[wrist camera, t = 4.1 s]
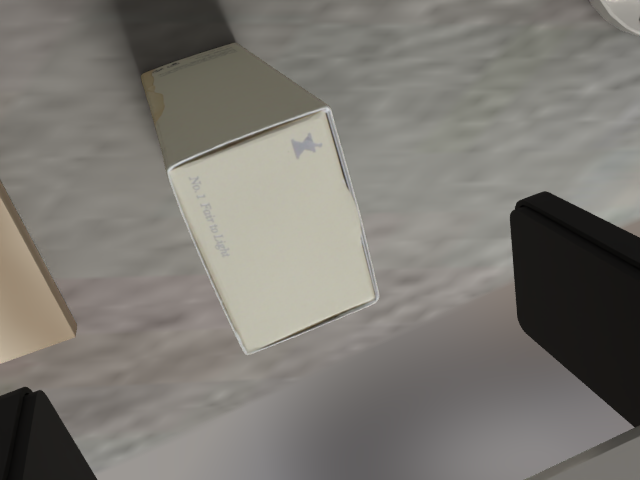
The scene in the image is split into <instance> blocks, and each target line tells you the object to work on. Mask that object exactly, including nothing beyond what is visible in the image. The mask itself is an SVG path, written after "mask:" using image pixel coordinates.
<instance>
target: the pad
mask: <svg viewBox="0 0 640 480" xmlns="http://www.w3.org/2000/svg"><path fill="white" fill-rule="evenodd" d="M76 330H77V324H76V322H75V320H74V318H73V317H72V315H71V313H70V311H69V309H68V307H67V305H66V303H65V301H64V300H63V298H62V296H61V294H60V292H59V290H58V288H57V286H56V284H55V283H54V281H53V279H52V277H51V275H50V273H49V271H48V269H47V268H46V266H45V264H44V262H43V260H42V258H41V256H40V254H39V252H38V251H37V249H36V247H35V245H34V243H33V241H32V239H31V237H30V235H29V234H28V232H27V230H26V228H25V226H24V224H23V222H22V220H21V218H20V217H19V215H18V213H17V211H16V209H15V207H14V205H13V203H12V201H11V200H10V198H9V196H8V194H7V192H6V190H5V188H4V186H3V184H2V183H1V181H0V364H1V363H4V362H6V361H9V360H12V359H15V358H18V357H21V356H23V355H26V354H29V353H32V352H35V351H37V350H40V349H43V348H46V347H49V346H52V345H54V344H57V343H60V342H63V341H66V340H69V339H71V338H74V337H76Z"/></svg>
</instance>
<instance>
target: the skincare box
mask: <svg viewBox="0 0 640 480" xmlns="http://www.w3.org/2000/svg"><path fill="white" fill-rule="evenodd" d="M141 80H142V84H143V87H144V90H145V94H146V97H147V100H148V103H149V106H150V109H151V113H152V117H153V120H154V124H155V128H156V132H157V135H158V139H159V143H160V147H161V151H162V154H163V159H164V164H165V169H166V174H167V177H168V179H169V182H170V185H171V187H172V190H173V193H174V195H175V198H176V201H177V204H178V206H179V209H180V212H181V214H182V216H183V219H184V221H185V224H186V226H187V229H188V231H189V234H190V236H191V238H192V241H193V243H194V246H195V248H196V250H197V253H198V255H199V257H200V260H201V262H202V264H203V266H204V269H205V271H206V273H207V276H208V278H209V280H210V282H211V285H212V287H213V289H214V291H215V294H216V296H217V298H218V300H219V302H220V304H221V307H222V309H223V311H224V313H225V315H226V317H227V319H228V322H229V324H230V326H231V328H232V330H233V332H234V334H235V336H236V338H237V340H238V342H239V344H240V346H241V349H242V350H243V352H244V353H245V354H246V355H249V354H253V353H256V352H258V351H261V350H264V349H266V348H268V347H271V346H273V345H275V344H278V343H280V342H283V341H286V340H288V339H291V338H293V337H296V336H298V335H301V334H303V333H306V332H308V331H311V330H313V329H315V328H318V327H320V326H323V325H325V324H328V323H330V322H333V321H335V320H337V319H340V318H342V317H344V316H347V315H349V314H351V313H354V312H357V311H359V310H361V309H364V308H366V307H368V306H371V305H373V304H375V303H376V302H377V301H378V299H379V291H378V287H377V282H376V278H375V273H374V269H373V264H372V260H371V257H370V252H369V248H368V243H367V239H366V235H365V231H364V227H363V222H362V218H361V214H360V211H359V207H358V204H357V200H356V196H355V193H354V189H353V185H352V181H351V178H350V174H349V171H348V167H347V164H346V160H345V157H344V153H343V149H342V146H341V143H340V139H339V135H338V132H337V129H336V125H335V122H334V118H333V114H332V110H331V108H330V106H329V105H327V104H326V103H324V102H323V101H321V100H320V99H318V98H317V97H315V96H314V95H312V94H311V93H309V92H308V91H306V90H305V89H303V88H302V87H300V86H299V85H298V84H296V83H295V82H293V81H292V80H291V79H289V78H287V77H286V76H285V75H283V74H281V73H280V72H279V71H277V70H275V69H274V68H273V67H271V66H270V65H268V64H267V63H266V62H264V61H262V60H261V59H259V58H258V57H256V56H255V55H253V54H252V53H251V52H249V51H248V50H246V49H245V48H243V47H242V46H240V45H239V44H238V43H231V44H228V45H225V46H222V47H218V48H215V49H212V50H209V51H205V52H202V53H199V54H196V55H193V56H190V57H187V58H184V59H181V60H178V61H175V62H172V63H169V64H167V65H164V66H161V67H159V68H156V69H153V70H151V71H148V72H145V73H143V74H142V75H141Z"/></svg>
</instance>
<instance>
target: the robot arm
mask: <svg viewBox="0 0 640 480" xmlns="http://www.w3.org/2000/svg"><path fill="white" fill-rule="evenodd" d="M589 1H590V3H591V5H592V6H593V7H594V9H595V10H596V11H597V12H598V13H599V14H600V15H601V16H602V17H603V18H604V20H605V21H607V22H608V23H610V24H612V25H613V26H615V27H616V28H618V29H619V30H621V31H624V32H627V33H630V34H633V35H637V36H640V0H589ZM510 226H511V239H512V252H513V266H514V279H515V292H516V305H517V317H518V321H519V323H520V326H521V327H522V329H523V330H524V332H526V334H527V335H528V336H530V337H531V338H532V339H533V340H534V341H535V342H537V343H538V344H539V345H540V346H541V347H542V348H544V349H545V350H546V351H547V352H548V353H549V354H551V355H552V356H553V357H554V358H555V359H556V360H557V361H559V362H560V363H561V364H562V365H563V366H564V367H566V368H567V369H568V370H569V371H570V372H571V373H572V374H574V375H575V376H576V377H577V378H578V379H580V380H581V381H582V382H583V383H584V384H585V385H586V386H588V387H589V388H590V389H591V390H592V391H593V392H595V393H596V394H597V395H598V396H599V397H600V398H602V399H603V400H604V401H605V402H606V403H607V404H608V405H610V406H611V407H612V408H613V409H614V410H615V411H616V412H618V413H619V414H620V415H621V416H622V417H623V418H625V419H626V420H627V421H628V422H629V423H630V424H632V425H633V426H634V427H635V428H633V429H631V430H629V431H627V432H625V433H623V434H620V435H618V436H616V437H614V438H612V439H610V440H608V441H606V442H603V443H601V444H599V445H597V446H595V447H593V448H591V449H589V450H586V451H584V452H582V453H580V454H578V455H576V456H574V457H572V458H569V459H567V460H565V461H563V462H561V463H559V464H557V465H555V466H552V467H550V468H548V469H546V470H544V471H542V472H540V473H538V474H535V475H533V476H531V477H529V478H527V479H525V480H640V238H639V237H637V236H635V235H633V234H631V233H629V232H627V231H625V230H623V229H621V228H619V227H617V226H615V225H613V224H611V223H609V222H607V221H605V220H603V219H601V218H599V217H597V216H595V215H593V214H591V213H589V212H587V211H585V210H583V209H581V208H579V207H577V206H575V205H573V204H571V203H569V202H567V201H565V200H563V199H561V198H559V197H557V196H555V195H553V194H551V193H549V192H546V191H545V192H541V193H538V194H535V195H533V196H530V197H527V198H525V199H522V200H519V201H518V202H517V203H516V206H515V210H513V211H512V212H511V214H510ZM0 480H97V478H96V477H95V475H94V473H93V472H92V470H91V468H90V467H89V465H88V463H87V462H86V460H85V459H84V457H83V455H82V454H81V452H80V450H79V449H78V447H77V445H76V444H75V442H74V440H73V439H72V437H71V435H70V434H69V432H68V430H67V429H66V427H65V425H64V424H63V422H62V420H61V419H60V417H59V415H58V414H57V412H56V410H55V409H54V407H53V405H52V404H51V402H50V401H49V399H48V397H47V396H46V394H45V393H44V392H43V391H42V390H38V391H36V392H32V391H31V390H30V389H29V388H28V387H23V388H20V389H17V390H15V391H12V392H10V393H7V394H4V395H2V396H0Z"/></svg>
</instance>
